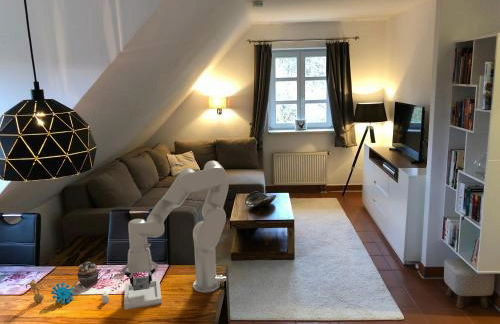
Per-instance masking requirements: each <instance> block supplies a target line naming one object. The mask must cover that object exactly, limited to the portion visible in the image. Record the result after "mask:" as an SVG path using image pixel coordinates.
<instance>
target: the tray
mask: <svg viewBox="0 0 500 324" xmlns="http://www.w3.org/2000/svg"><path fill="white" fill-rule="evenodd" d="M150 282H151V284H149V289H144V290H136V291H134V290H133V287H132V284H130V282H128V283H124V297H123V298H124V299H123V301H124V302H123V306H124V310H131V309H137V308H143V307H149V306H155V305H160V304H163V302H162V294H161V293H162V292H161V291H162V289H161V282H160V278H155V279H152V281H150Z"/></svg>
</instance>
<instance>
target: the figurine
mask: <svg viewBox="0 0 500 324" xmlns="http://www.w3.org/2000/svg"><path fill="white" fill-rule="evenodd" d="M28 286H29V287H30V289H31V290H33V294H34V296H33V301H34V302H36V303H40V302H42V301H43V300H44V293H41V292H40V288H42V289H45V287H44V286H42V285H41V284H39V283H36V282H35V278H33V279H31V281H30V282H28V283H26V284H25V289H28ZM39 287H40V288H39Z"/></svg>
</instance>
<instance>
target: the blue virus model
mask: <svg viewBox="0 0 500 324" xmlns="http://www.w3.org/2000/svg"><path fill="white" fill-rule="evenodd" d="M65 285H66V286H65ZM73 290H75V286H72V287H70V285H69V284H66V283H65V282H61V284H60V283H59V282H58V283H57V284H56V285H54V286H53V287H52V290H51V294H52V299H53V300H55V299H56V300H55V302H56V303H60V304H62V305H64V304H65V303H66V304H70V302H71V301H72V300H73V299H74V295H75V292H73ZM61 300H62V301H61ZM60 301H61V302H60Z"/></svg>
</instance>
